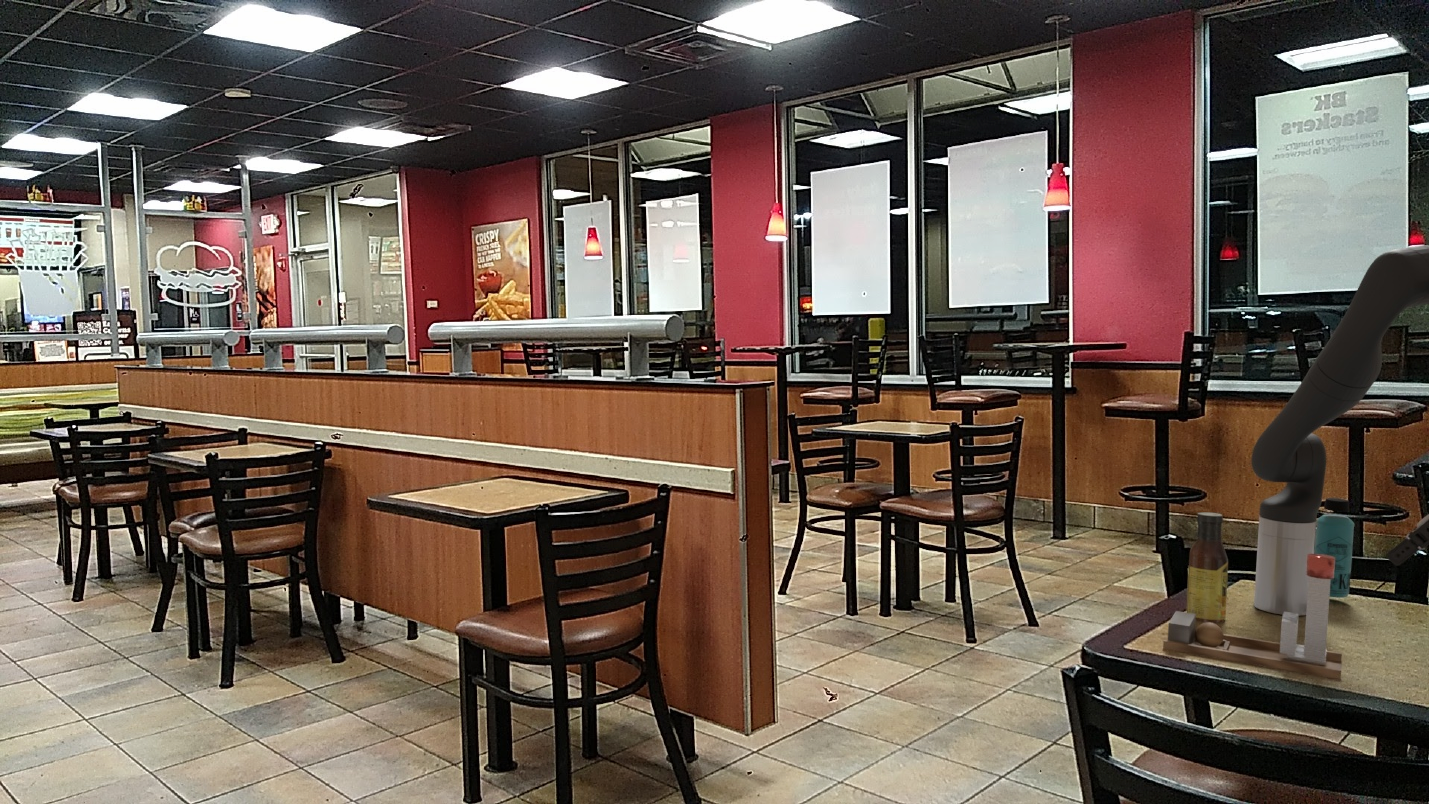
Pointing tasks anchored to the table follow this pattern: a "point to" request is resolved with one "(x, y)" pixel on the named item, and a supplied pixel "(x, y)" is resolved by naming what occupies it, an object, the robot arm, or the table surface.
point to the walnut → (1209, 634)
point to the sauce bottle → (1208, 571)
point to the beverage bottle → (1336, 544)
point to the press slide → (1311, 615)
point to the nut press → (1243, 649)
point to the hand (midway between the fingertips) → (1391, 560)
